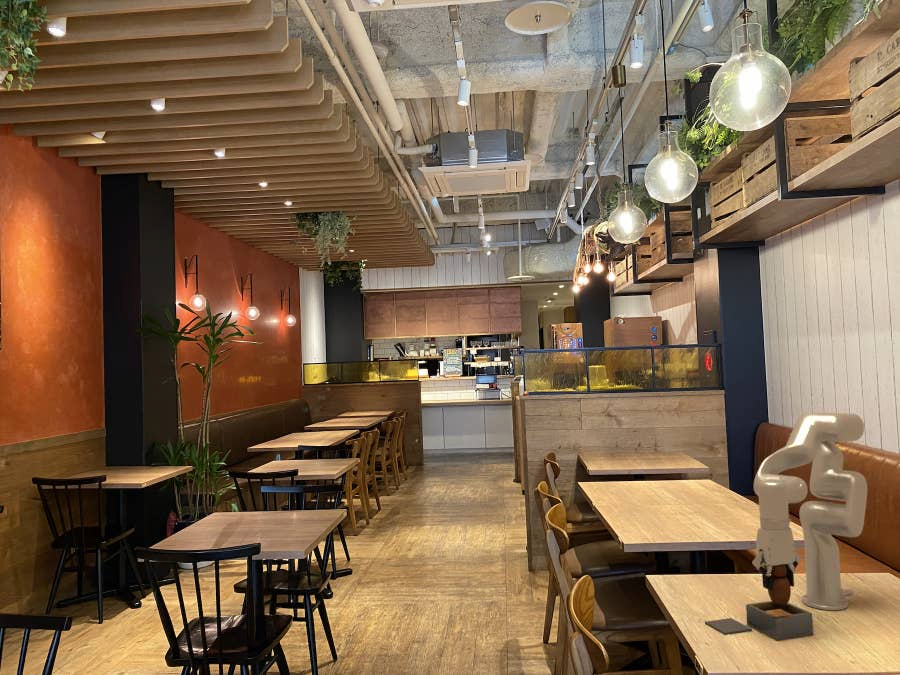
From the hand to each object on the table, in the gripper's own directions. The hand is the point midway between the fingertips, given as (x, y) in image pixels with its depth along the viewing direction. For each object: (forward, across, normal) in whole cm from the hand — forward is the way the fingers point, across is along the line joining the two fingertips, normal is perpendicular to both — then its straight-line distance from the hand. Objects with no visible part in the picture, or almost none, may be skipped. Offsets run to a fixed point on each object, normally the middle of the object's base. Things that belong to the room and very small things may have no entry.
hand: (778, 586), depth 196 cm
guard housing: (+12, +1, 0) cm, 12 cm away
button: (+9, +1, 0) cm, 9 cm away
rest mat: (+12, +13, -6) cm, 19 cm away
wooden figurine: (+5, 0, 0) cm, 5 cm away
